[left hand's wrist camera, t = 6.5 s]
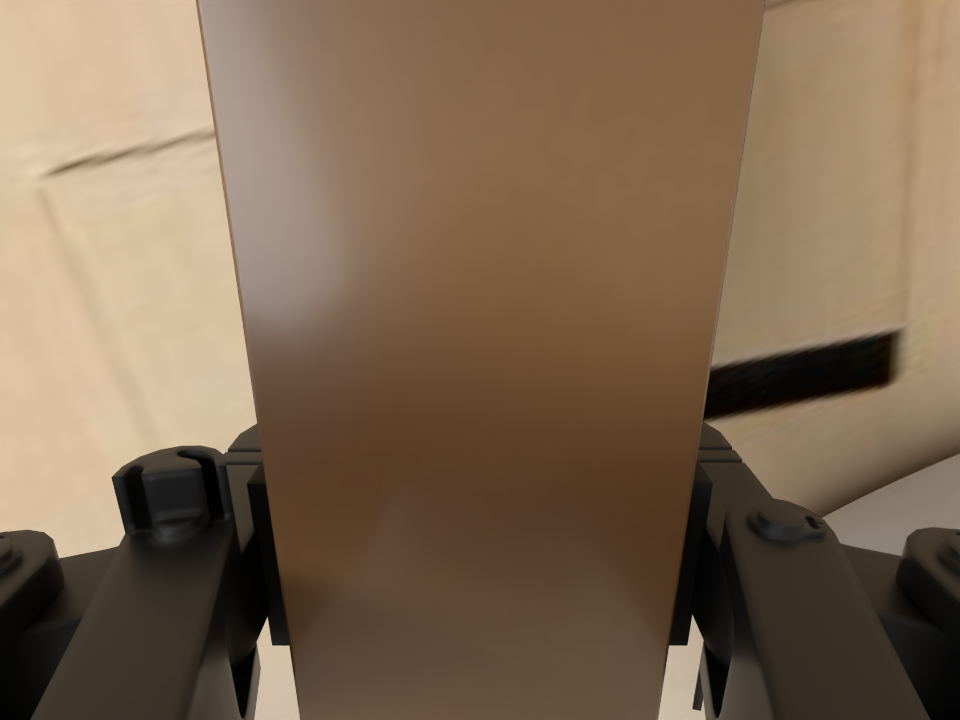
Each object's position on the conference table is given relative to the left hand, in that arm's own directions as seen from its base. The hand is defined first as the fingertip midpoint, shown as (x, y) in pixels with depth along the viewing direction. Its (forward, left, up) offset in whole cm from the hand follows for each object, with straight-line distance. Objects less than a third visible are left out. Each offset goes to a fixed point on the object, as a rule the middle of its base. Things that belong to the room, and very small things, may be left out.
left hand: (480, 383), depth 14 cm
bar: (+19, +9, -1) cm, 21 cm away
